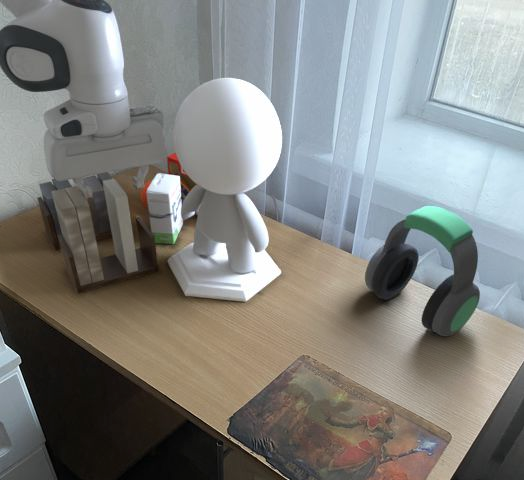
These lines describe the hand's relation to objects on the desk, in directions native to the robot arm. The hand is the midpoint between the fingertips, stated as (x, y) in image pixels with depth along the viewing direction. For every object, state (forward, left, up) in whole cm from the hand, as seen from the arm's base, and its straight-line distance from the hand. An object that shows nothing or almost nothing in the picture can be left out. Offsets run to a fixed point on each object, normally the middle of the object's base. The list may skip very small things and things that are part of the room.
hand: (114, 192), depth 96 cm
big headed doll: (+17, -9, -16) cm, 25 cm away
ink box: (+12, +8, -16) cm, 22 cm away
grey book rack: (-3, +16, -16) cm, 23 cm away
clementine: (+14, +19, -16) cm, 29 cm away
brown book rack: (-3, 0, -16) cm, 16 cm away
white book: (0, 0, -15) cm, 15 cm away
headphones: (+43, -37, -16) cm, 59 cm away
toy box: (+23, +12, -16) cm, 31 cm away
